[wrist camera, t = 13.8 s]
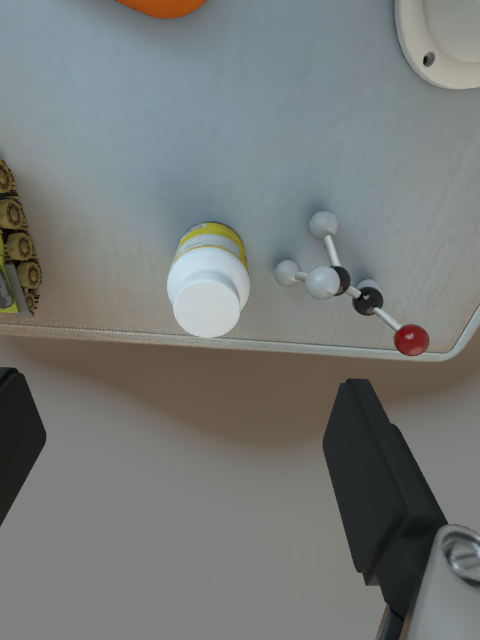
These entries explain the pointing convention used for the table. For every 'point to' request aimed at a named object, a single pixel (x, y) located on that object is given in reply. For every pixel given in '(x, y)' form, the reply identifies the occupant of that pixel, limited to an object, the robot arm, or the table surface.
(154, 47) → the table surface
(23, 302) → the toy tank
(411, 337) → the molecular model
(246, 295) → the pill bottle
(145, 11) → the orange rounded loop
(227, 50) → the table surface
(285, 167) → the table surface
